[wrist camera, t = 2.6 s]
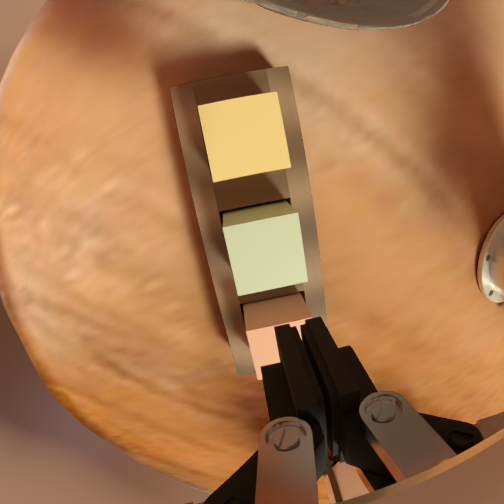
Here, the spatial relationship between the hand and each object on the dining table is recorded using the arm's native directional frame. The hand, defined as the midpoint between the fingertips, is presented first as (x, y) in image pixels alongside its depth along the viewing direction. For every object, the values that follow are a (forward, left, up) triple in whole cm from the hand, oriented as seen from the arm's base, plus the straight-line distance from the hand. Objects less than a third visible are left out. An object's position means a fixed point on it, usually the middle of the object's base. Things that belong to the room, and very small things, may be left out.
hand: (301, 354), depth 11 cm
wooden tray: (0, 0, -19) cm, 19 cm away
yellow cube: (+8, -2, -16) cm, 18 cm away
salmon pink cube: (-8, +2, -16) cm, 18 cm away
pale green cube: (0, 0, -16) cm, 16 cm away
